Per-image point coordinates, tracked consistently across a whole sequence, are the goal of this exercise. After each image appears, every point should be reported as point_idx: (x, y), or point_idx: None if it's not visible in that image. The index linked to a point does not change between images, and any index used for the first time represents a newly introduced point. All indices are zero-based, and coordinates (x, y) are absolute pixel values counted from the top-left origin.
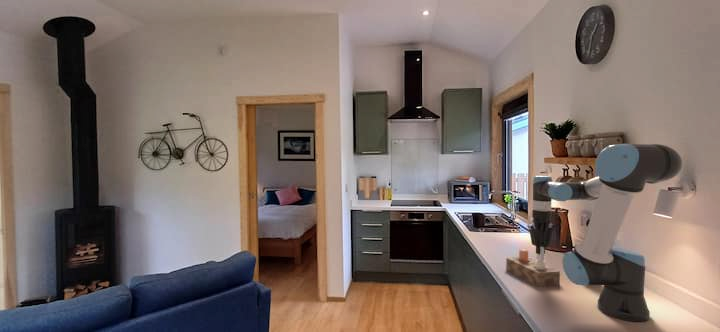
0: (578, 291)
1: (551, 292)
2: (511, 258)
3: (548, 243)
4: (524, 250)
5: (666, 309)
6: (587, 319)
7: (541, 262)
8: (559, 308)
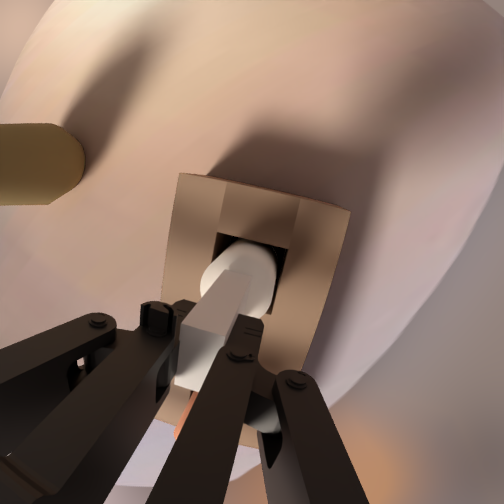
0: (204, 84)
1: (343, 126)
2: (251, 438)
3: (93, 324)
4: None
5: None
6: None
7: (253, 269)
8: (441, 39)
